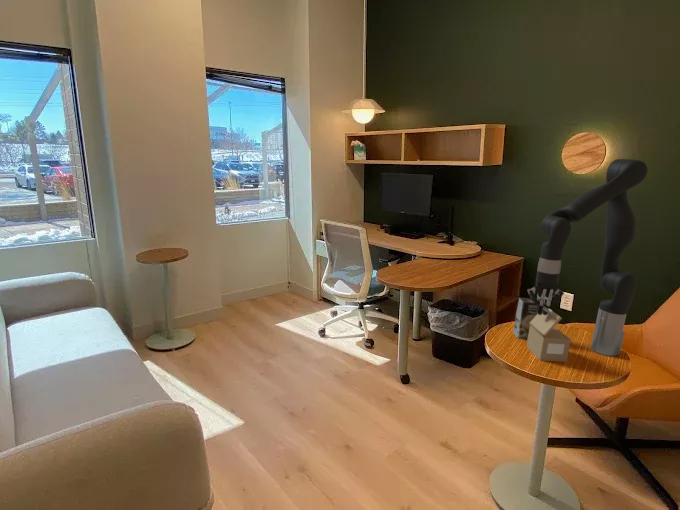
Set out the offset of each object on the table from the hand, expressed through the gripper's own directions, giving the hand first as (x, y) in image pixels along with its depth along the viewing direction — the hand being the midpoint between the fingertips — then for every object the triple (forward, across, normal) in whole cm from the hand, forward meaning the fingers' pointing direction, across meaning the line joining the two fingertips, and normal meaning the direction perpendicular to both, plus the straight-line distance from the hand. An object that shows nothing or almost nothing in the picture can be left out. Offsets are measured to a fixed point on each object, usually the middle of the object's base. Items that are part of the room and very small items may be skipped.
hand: (541, 314), depth 157 cm
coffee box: (+16, -3, -16) cm, 23 cm away
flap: (+3, -2, 0) cm, 4 cm away
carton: (+16, -4, 0) cm, 17 cm away
